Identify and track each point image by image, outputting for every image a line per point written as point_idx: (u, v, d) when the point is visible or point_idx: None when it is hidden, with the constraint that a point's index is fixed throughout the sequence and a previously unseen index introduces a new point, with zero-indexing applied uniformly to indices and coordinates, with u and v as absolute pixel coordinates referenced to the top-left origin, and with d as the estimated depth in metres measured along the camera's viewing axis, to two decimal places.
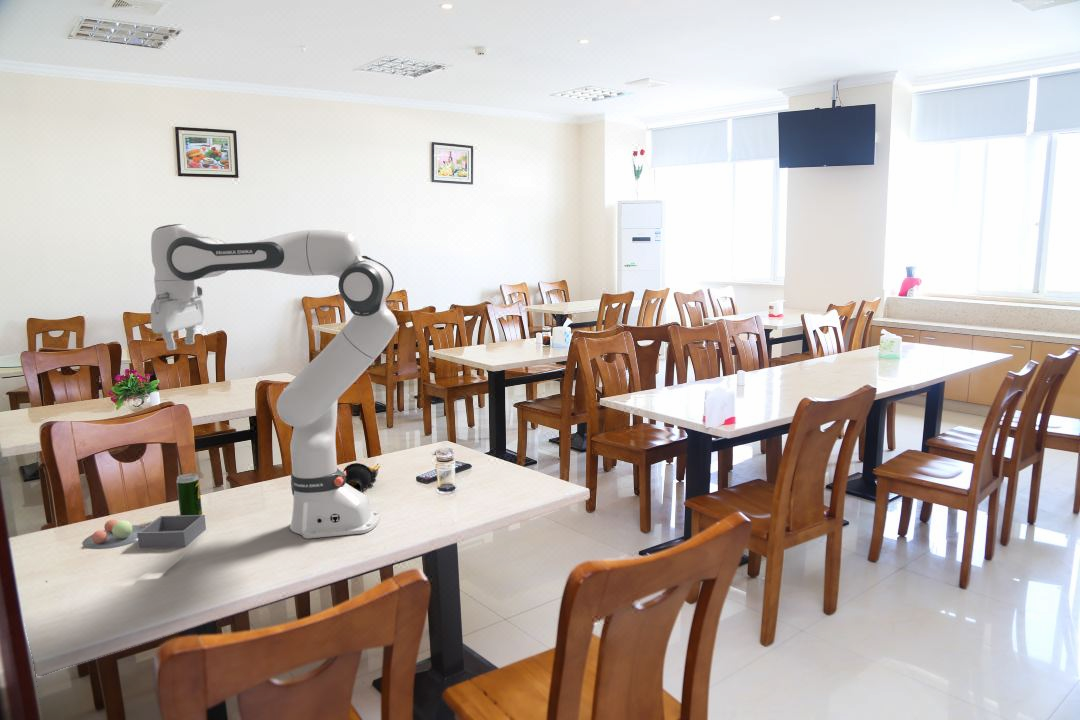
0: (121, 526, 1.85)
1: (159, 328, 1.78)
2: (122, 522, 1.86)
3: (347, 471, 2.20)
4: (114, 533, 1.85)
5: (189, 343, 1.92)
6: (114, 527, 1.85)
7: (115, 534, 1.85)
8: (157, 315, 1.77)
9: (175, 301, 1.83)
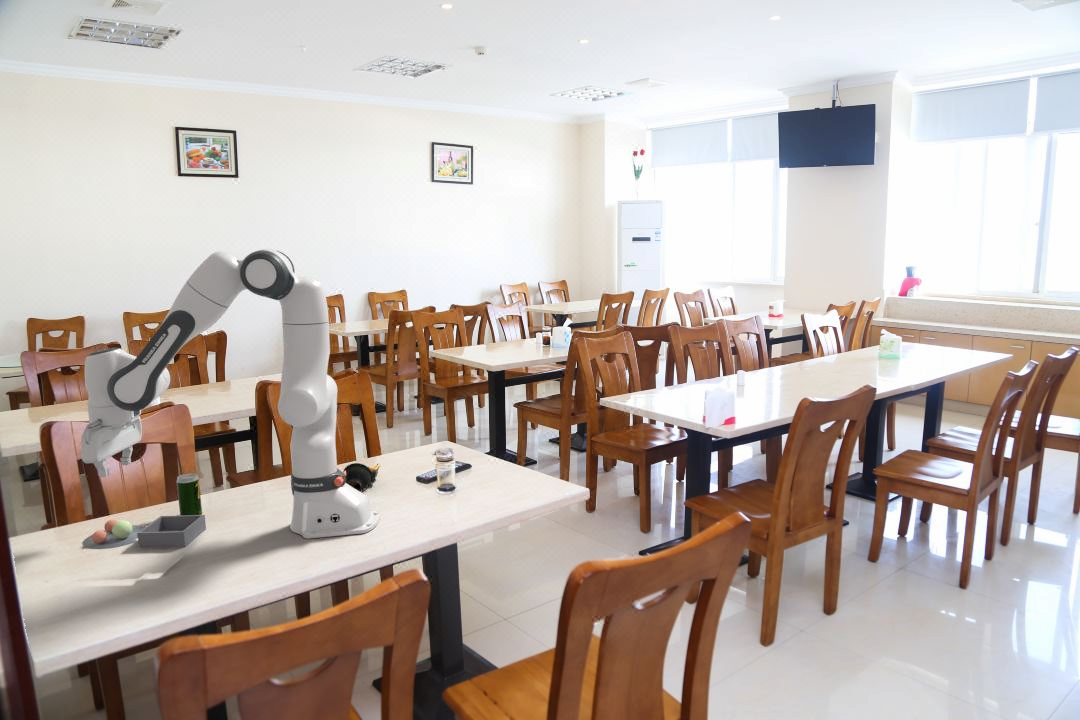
0: (121, 526, 1.85)
1: (89, 458, 1.74)
2: (122, 522, 1.86)
3: (347, 471, 2.20)
4: (114, 533, 1.85)
5: (125, 464, 1.89)
6: (114, 527, 1.85)
7: (115, 534, 1.85)
8: (87, 445, 1.74)
9: (108, 427, 1.79)
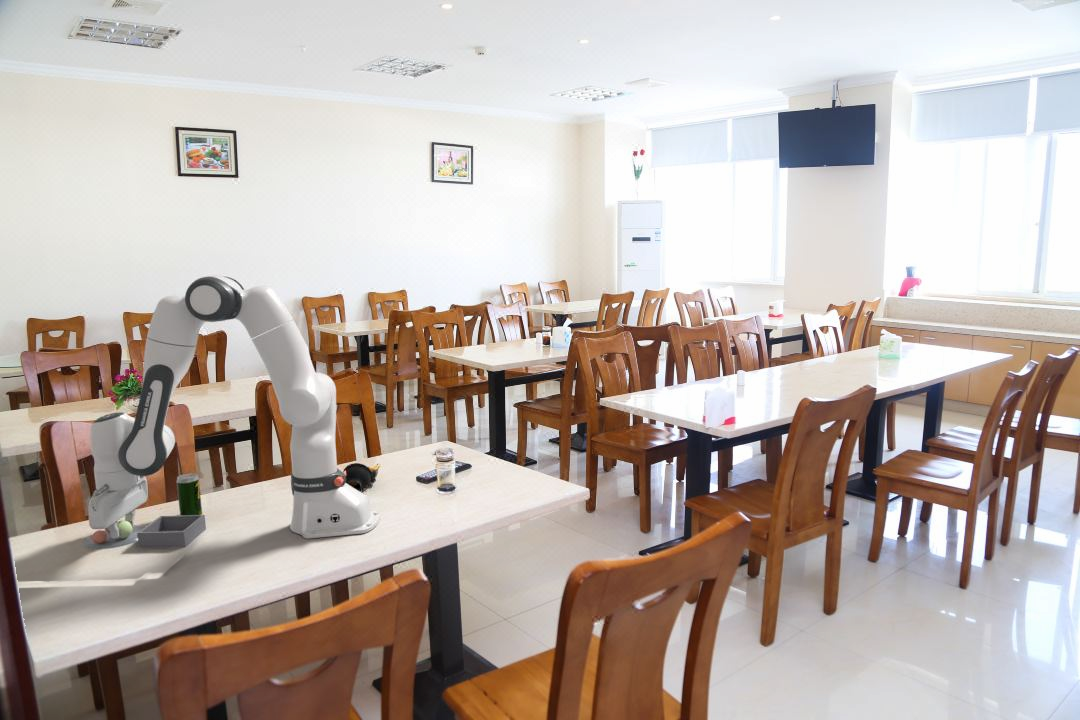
0: (121, 526, 1.85)
1: (97, 525, 1.76)
2: (122, 522, 1.86)
3: (347, 471, 2.20)
4: None
5: None
6: None
7: None
8: (95, 512, 1.76)
9: (115, 492, 1.81)
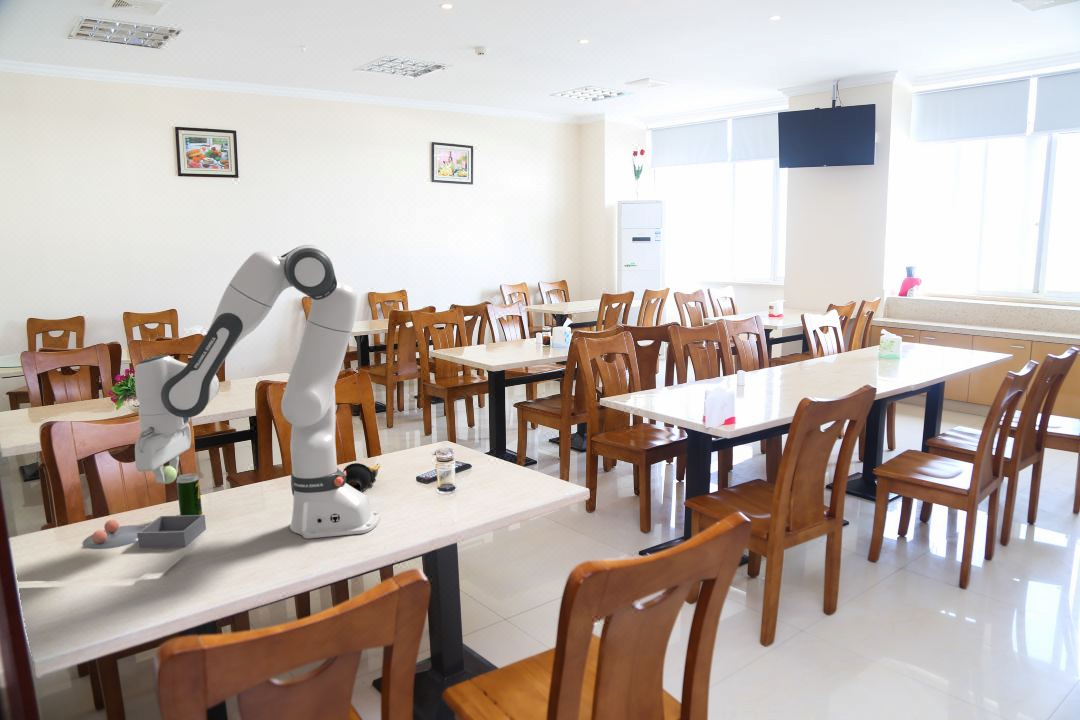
0: (166, 471, 1.82)
1: (144, 467, 1.73)
2: (167, 467, 1.83)
3: (347, 471, 2.20)
4: None
5: None
6: None
7: None
8: (141, 454, 1.73)
9: (160, 435, 1.78)
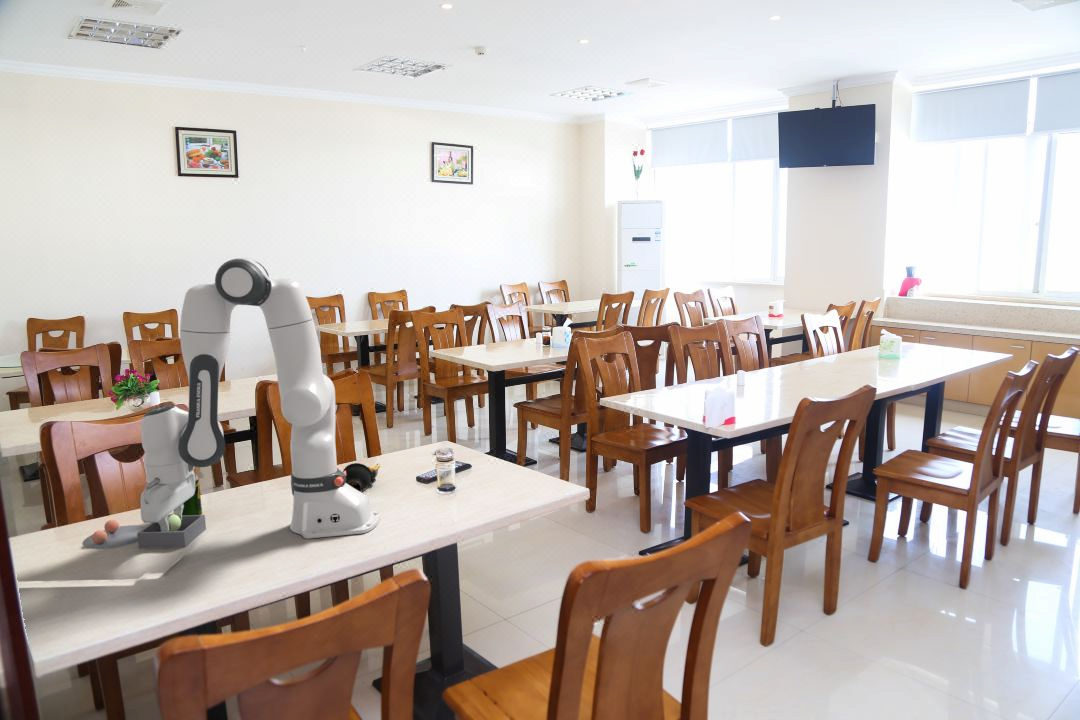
0: (170, 520, 1.84)
1: (149, 518, 1.75)
2: (171, 516, 1.85)
3: (347, 471, 2.20)
4: None
5: None
6: None
7: None
8: (147, 505, 1.75)
9: (165, 486, 1.80)
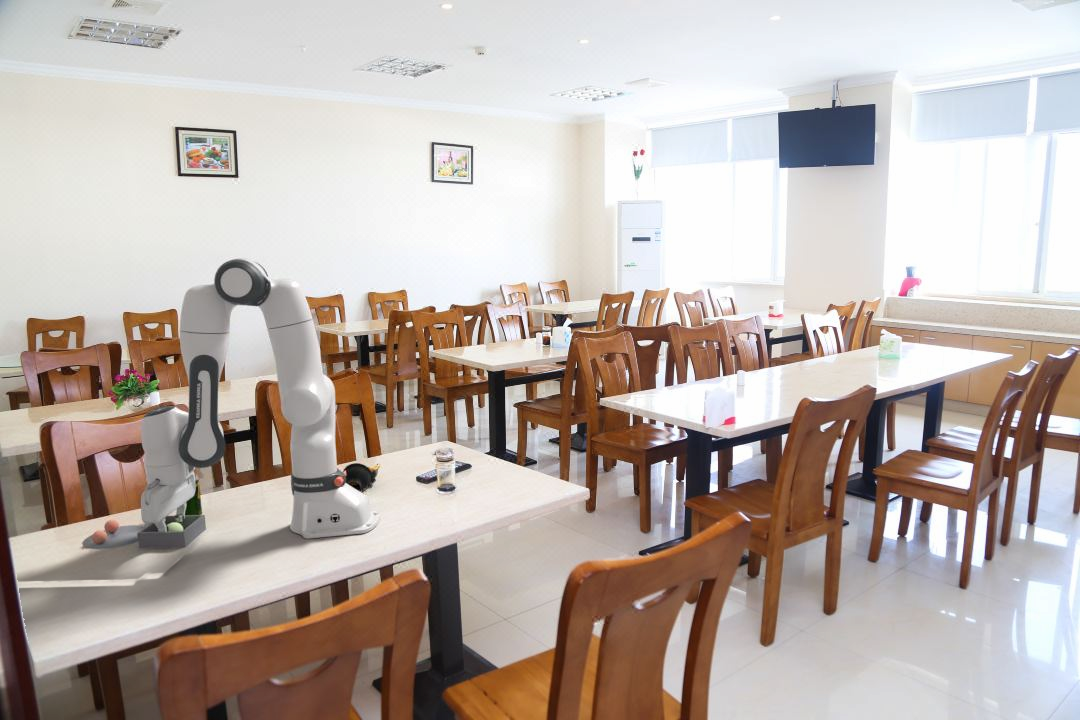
0: (173, 526, 1.85)
1: (150, 519, 1.75)
2: (175, 523, 1.86)
3: (347, 471, 2.20)
4: None
5: (180, 520, 1.89)
6: None
7: None
8: (147, 506, 1.75)
9: (166, 486, 1.80)
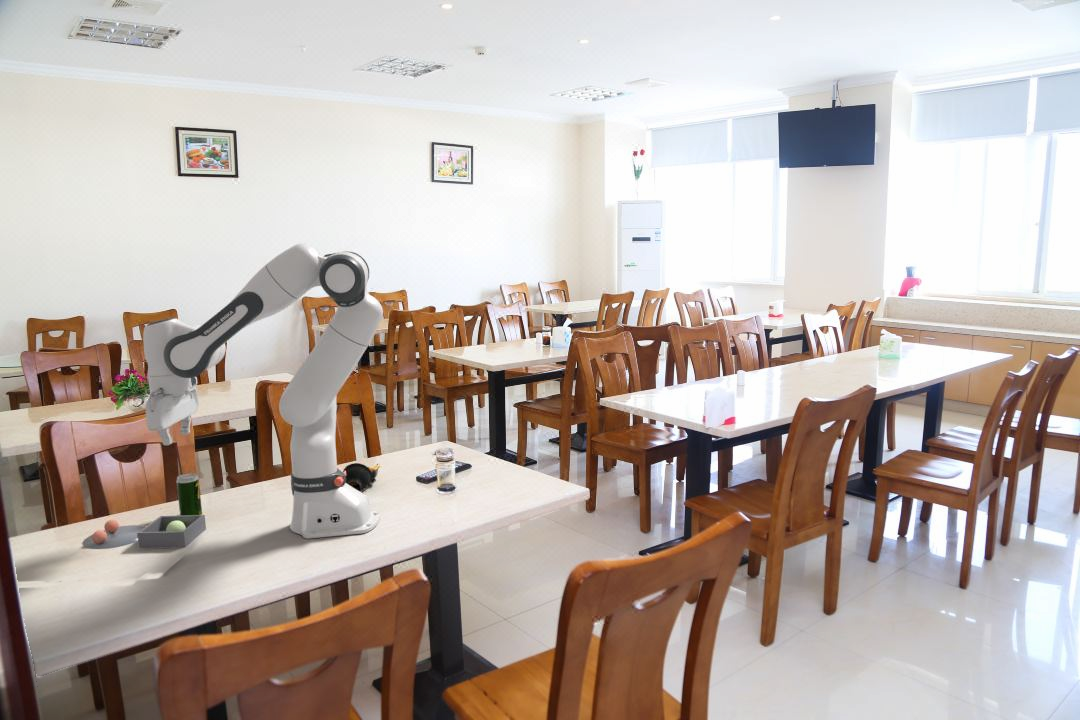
0: (177, 521, 1.87)
1: (155, 426, 1.77)
2: (179, 521, 1.88)
3: (347, 471, 2.20)
4: (168, 527, 1.86)
5: (185, 433, 1.92)
6: None
7: (169, 528, 1.86)
8: (152, 413, 1.77)
9: (169, 396, 1.82)
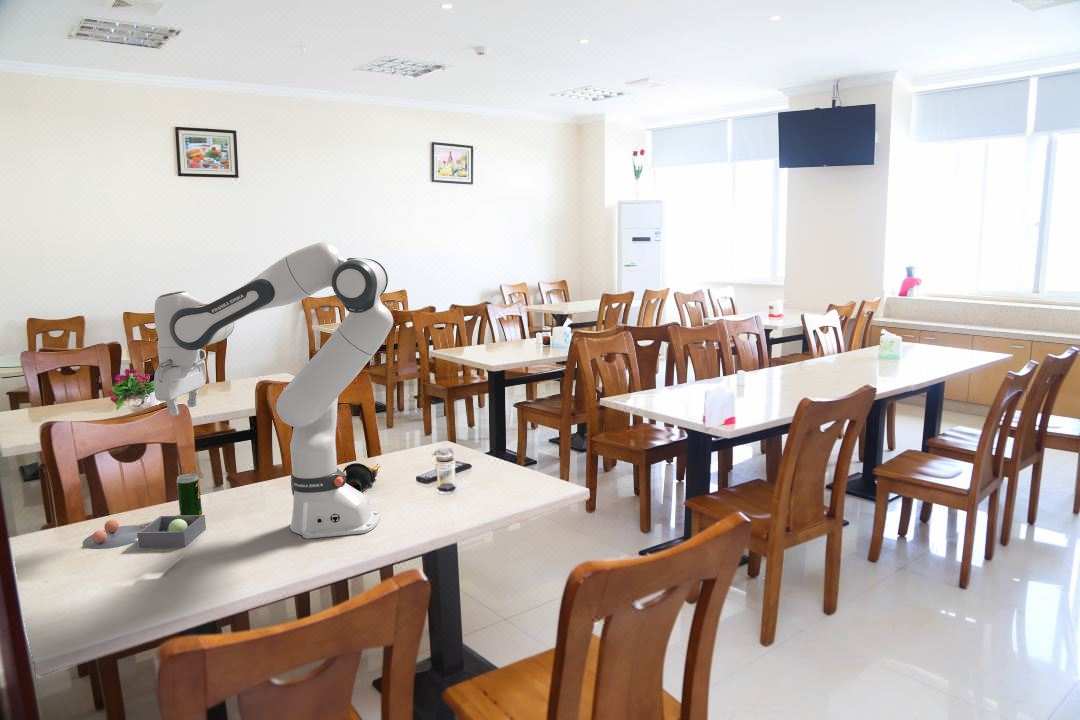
0: (181, 519, 1.89)
1: (163, 396, 1.80)
2: None
3: (347, 471, 2.19)
4: (172, 522, 1.88)
5: (192, 406, 1.95)
6: None
7: (172, 522, 1.88)
8: (160, 383, 1.80)
9: (178, 367, 1.85)
